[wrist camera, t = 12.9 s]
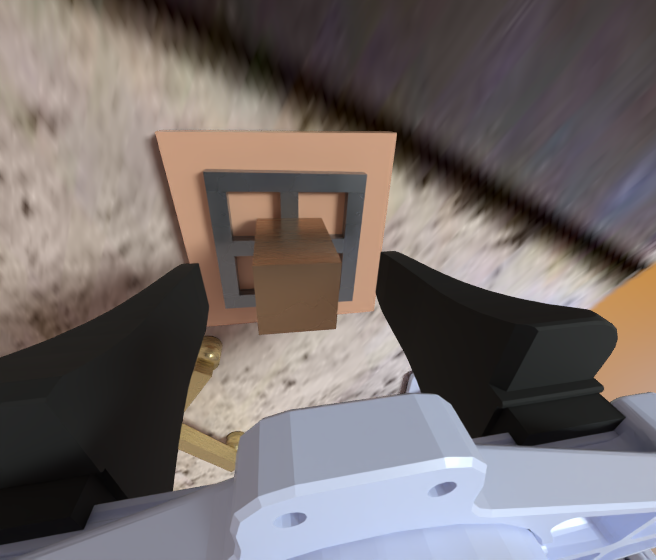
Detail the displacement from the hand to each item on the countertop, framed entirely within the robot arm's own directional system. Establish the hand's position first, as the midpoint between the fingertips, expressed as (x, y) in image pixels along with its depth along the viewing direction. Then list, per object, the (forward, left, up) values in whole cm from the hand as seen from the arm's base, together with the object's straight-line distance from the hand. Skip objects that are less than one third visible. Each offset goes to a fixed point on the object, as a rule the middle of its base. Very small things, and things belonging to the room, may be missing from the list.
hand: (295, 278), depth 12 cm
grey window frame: (0, 0, -4) cm, 4 cm away
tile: (0, 0, -4) cm, 4 cm away
